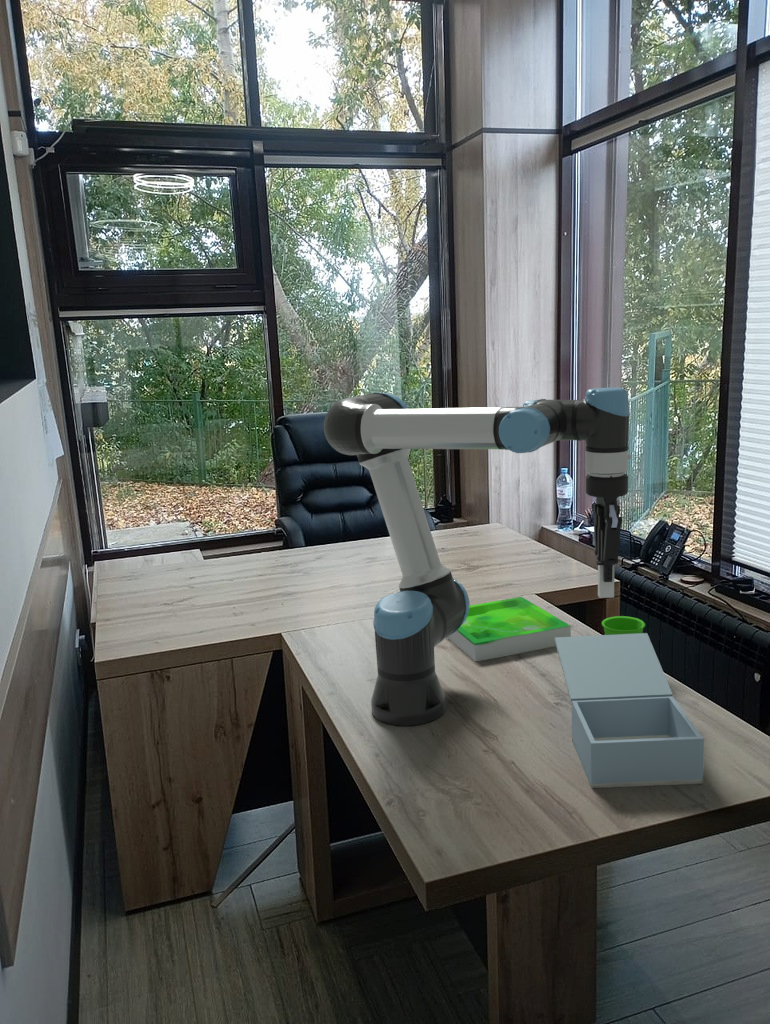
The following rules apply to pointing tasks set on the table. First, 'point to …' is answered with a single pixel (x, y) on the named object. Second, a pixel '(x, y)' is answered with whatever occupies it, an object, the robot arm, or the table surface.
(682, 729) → the box
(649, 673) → the lid
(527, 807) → the table surface
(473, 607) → the tray
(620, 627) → the cup
